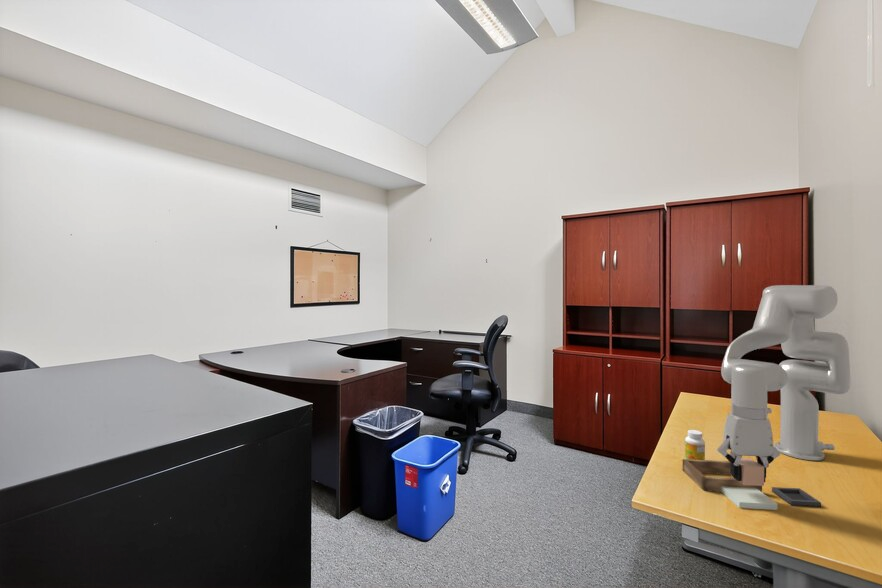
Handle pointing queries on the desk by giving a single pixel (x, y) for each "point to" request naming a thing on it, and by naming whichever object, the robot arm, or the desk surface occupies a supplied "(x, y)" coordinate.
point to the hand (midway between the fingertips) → (748, 478)
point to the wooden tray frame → (708, 466)
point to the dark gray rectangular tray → (796, 497)
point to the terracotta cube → (751, 472)
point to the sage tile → (748, 498)
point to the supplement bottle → (694, 446)
